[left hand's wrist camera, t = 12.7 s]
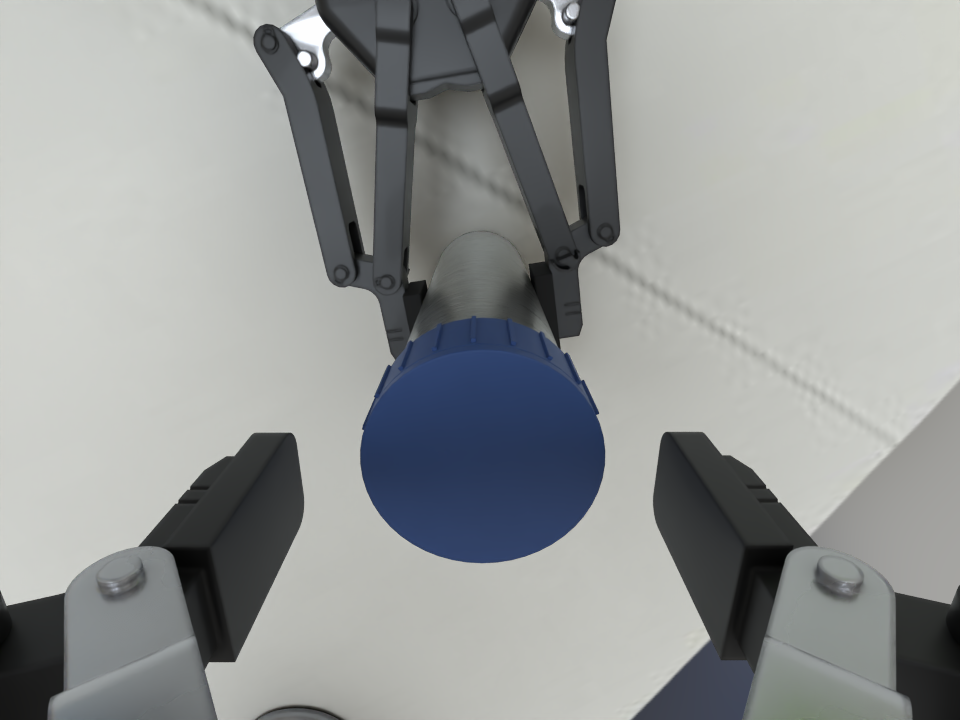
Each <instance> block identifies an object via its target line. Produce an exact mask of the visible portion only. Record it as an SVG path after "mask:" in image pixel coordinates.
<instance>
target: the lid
mask: <svg viewBox="0 0 960 720" xmlns="http://www.w3.org/2000/svg"><path fill="white" fill-rule="evenodd" d="M374 397H375V399H374V401H373V403H372V406H371V408H370V410H369V413H368V415H367V417H366V420H365V422H364V424H363V427H362V430H364V432H363V435H362V442H361V449H360V464H361V470H362V477H363V480H364V483H365V487H366V490H367V492H368V494H369V497H370V499H371V501H372V503H373V505H374V506H375V508H376V509H377V511H378V512H379V514H380V515H381V516H382V518H383V519H384V520H385V521H386V522H387V523H388V525H389V526H390V527H391V528H393V529H394V530H395V531H396V532H397V533H398V534H399V535H400V536H402V537H403V538H405V539H406V540H407V541H409V542H410V543H412V544H414V545H415V546H417V547H419V548H421V549H423V550H425V551H427V552H430V553H432V554H435V555H437V556H440V557H444V558H448V559H451V560H456V561H462V562H471V563H495V562H502V561H509V560H514V559H517V558H521V557H525V556H528V555H530V554H533V553H535V552H538V551H540V550H542V549H544V548H546V547H548V546H550V545H552V544H553V543H555V542H556V541H557V540H559V539H560V538H562V537H563V536H565V535H566V534H567V533H568V532H569V531H570V530H571V529H573V528H574V527H575V526H576V525H577V523H578V522H579V521H580V520H581V519H582V518H583V517H584V515H585V514H586V512H587V511H588V509H589V508H590V506H591V505H592V503H593V501H594V499H595V497H596V495H597V493H598V490H599V487H600V484H601V481H602V478H603V472H604V467H605V445H604V438H603V434H602V430H601V427H600V423H599V421H598V419H597V416H596V415H597V414H599V412H598V409H597V407H596V405H595V403H594V401H593V398H592V396H591V394H590V392H589V390H588V388H587V386H586V384H585V381H584V380H582V381H581V380H580V378H579V375H578V373H577V371H576V369H575V367H574V364H573V362H572V360H571V358H570V356H569V354H568V353H565V354H564V353H563V352H562V351H561V350H560V349H559V348H558V347H557V346H556V345H555V344H554V343H553V342H551V341H550V340H549V339H548V338H546V337H545V334H544V333H543V332H542V331H540V333H539V332H537V331H535V330H533V329H531V328H529V327H526V326H524V325H521V324H518V323H515V322H512V319H509V318H508V319H507V320H502V319H497V318H476V316H472V318H468V319H463V320H457V321H453V322H450V323H447V324H444V325H442V324H441V323H439V324H437V327H436V328H434V329H432V330H430V331H428V332H426V333H425V334H423V335H422V336H420V337H419V338H417V339H416V340H414V341H413V342H412V341H411V340H410V341H409V342H408V343H407V346H406V348H405V349H404V350H403V352H402V353H401V354H400V355H399V356H398V357H397V359H396V360H395V362H394V363H393V365H392V366H390V365H388V366H387V368H386V370H385V373H384V375H383V377H382V380H381V382H380V384H379V386H378V389H377V391H376V393H375V396H374Z"/></svg>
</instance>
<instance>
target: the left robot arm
mask: <svg viewBox="0 0 960 720" xmlns="http://www.w3.org/2000/svg"><path fill="white" fill-rule="evenodd" d="M653 508H654V516H655V520H656V524H657V526H658V528H659V531H660V533H661V535H662V537H663V539H664V541H665V543H666V545H667V547H668V550H669V552H670V554H671V556H672V558H673V560H674V562H675V564H676V566H677V569H678V571H679V573H680V575H681V577H682V579H683V581H684V583H685V585H686V588H687V590H688V592H689V594H690V596H691V598H692V600H693V602H694V604H695V607H696V609H697V611H698V613H699V615H700V617H701V619H702V621H703V623H704V626H705V628H706V630H707V632H708V634H709V636H710V638H711V640H712V642H713V644H714V647H715V649H716V651H717V653H718V655H719V657H720V659H721V660H747V661H748V663H749V665H750V667H751V669H752V671H753V673H754V678H753V682H752V685H751V689H750V693H749V697H748V700H747V704H746V708H745V712H744V716H743V719H742V720H960V585H959V587H958V589H957V591H956V594H955V597H954V599H953V601H952V604H951V605H950V604H945V603H941V602H936V601H932V600H927V599H922V598H918V597H913V596H909V595H904V594H900V593H895V592H894V590H893V588H892V586H891V585H890V584H889V582H888V581H887V580H886V579H885V578H884V577H883V576H882V575H881V574H880V573H879V572H878V571H877V570H875V569H874V568H873V567H871V566H870V565H868V564H867V563H865V562H863V561H861V560H860V559H858V558H855V557H853V556H851V555H849V554H846V553H844V552H841V551H837V550H834V549H830V548H825V547H818V546H817V544H816V543H815V542H814V541H813V540H812V539H811V537H810V536H809V535H808V534H807V533H806V532H805V530H804V529H803V528H802V527H801V526H800V525H799V523H798V522H797V521H796V520H795V519H794V518H793V516H792V515H791V514H790V513H789V512H788V511H787V509H786V508H785V507H784V506H783V505H782V504H781V503H778V499H777V498H776V497H775V495H774V494H773V493H772V492H771V491H770V490H769V489H766V485H765V484H764V483H763V481H762V480H761V479H760V478H759V477H758V476H757V474H756V473H755V472H754V471H753V470H752V469H751V468H749V467H748V466H746V465H744V464H743V463H741V462H740V461H738V460H736V459H735V458H733V457H732V456H722V455H721V453H720V452H719V451H718V450H717V448H716V447H715V446H714V445H713V443H712V442H711V441H710V440H709V438H708V437H707V436H706V435H705V434H704V433H703V432H665V433H664V434H663V436H662V439H661V443H660V450H659V458H658V465H657V472H656V480H655V487H654V495H653ZM303 512H304V494H303V486H302V479H301V472H300V465H299V457H298V450H297V443H296V439H295V437H294V435H293V434H292V433H254V434H252V435H251V437H250V438H249V439H248V440H247V442H246V443H245V444H244V445H243V446H242V448H241V449H240V450H239V451H238V453H237V454H236V455H235V456H226V457H225V458H223V459H222V460H220V461H218V462H217V463H215V464H214V465H212V466H211V467H209V468H207V469H206V470H204V471H203V473H202V474H201V475H200V476H199V477H198V478H197V479H196V481H195V482H194V483H193V484H192V485H191V486H190V490H187V491H186V492H185V493H184V494H183V496H182V497H181V498H180V499H179V502H178V504H175V505H174V506H173V507H172V508H171V510H170V511H169V512H168V513H167V514H166V515H165V516H164V518H163V519H162V520H161V521H160V522H159V523H158V525H157V526H156V527H155V528H154V529H153V530H152V531H151V533H150V534H149V535H148V536H147V537H146V538H145V540H144V541H143V542H142V543H141V544H140V545H139V546H138V547H135V548H130V549H126V550H123V551H119V552H116V553H114V554H111V555H109V556H107V557H105V558H102V559H100V560H99V561H97V562H95V563H93V564H92V565H90V566H89V567H87V568H86V569H85V570H83V571H82V572H81V573H80V574H79V575H78V576H77V577H76V578H75V579H74V580H73V581H72V582H71V584H70V585H69V586H68V588H67V590H66V593H63V594H59V595H55V596H50V597H45V598H41V599H36V600H32V601H27V602H23V603H18V604H14V605H9V606H6V604H5V601H4V599H3V596H2V594H1V591H0V720H218V719H217V716H216V712H215V708H214V704H213V700H212V697H211V693H210V689H209V685H208V682H207V678H206V674H205V668H206V666H207V664H208V662H235V661H236V659H237V657H238V655H239V653H240V651H241V649H242V646H243V644H244V642H245V640H246V638H247V636H248V634H249V632H250V630H251V628H252V626H253V624H254V621H255V619H256V617H257V615H258V613H259V611H260V609H261V607H262V605H263V603H264V601H265V599H266V596H267V594H268V592H269V590H270V588H271V586H272V584H273V582H274V580H275V578H276V576H277V574H278V571H279V569H280V567H281V565H282V563H283V561H284V559H285V557H286V555H287V553H288V551H289V549H290V546H291V544H292V542H293V540H294V538H295V536H296V534H297V532H298V530H299V528H300V525H301V522H302V518H303ZM257 720H339V719H337V718H335V717H333V716H331V715H329V714H326V713H323V712H320V711H316V710H311V709H303V708H289V709H282V710H277V711H273V712H270V713H268V714H266V715H264V716H262V717H260V718H258V719H257Z"/></svg>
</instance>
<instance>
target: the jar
mask: <svg viewBox="0 0 960 720" xmlns="http://www.w3.org/2000/svg"><path fill="white" fill-rule="evenodd" d="M472 316H476V318H497V319H502V320H507V319H508V318H509V319H512V322H515V323H518V324H521V325H524V326H526V327H529V328H531V329H533V330H535V331H537V332H539V333H540V331H542V332H543V333H544V334H545V337H546V338H548V339H549V340H550V341H551V342H553V343H554V344H555V345H556V346H557V344H556V341H555V339H554V336H553V334H552V332H551V329H550V327H549V324H548V322H547V319H546V317H545V315H544V312H543V310H542V307H541V305H540V302H539V300H538V298H537V295H536V293H535V290H534V288H533V285H532V283H531V281H530V278H529V276H528V273H527V271H526V268H525V266H524V264H523V261H522V259H521V257H520V254H519V253H518V251H517V250H516V248H515V247H514V246H513V245H512V244H511V243H510V242H509V241H508V240H506V239H505V238H504V237H502V236H500V235H498V234H495V233H492V232H487V231H475V232H470V233H467V234H464V235H462V236H460V237H458V238H456V239H455V240H453V241H452V242H451V243H450V244H449V245H448V246H447V247H446V249H445V250H444V252H443V253H442V255H441V257H440V259H439V262H438V265H437V267H436V270H435V272H434V275H433V278H432V280H431V283H430V285H429V288H428V291H427V293H426V296H425V298H424V301H423V304H422V306H421V309H420V311H419V314H418V316H417V319H416V322H415V324H414V327H413V329H412V332H411V335H410V337H409V340H408V342H409V341H410V340H411V341H412V342H413V341H414V340H416V339H417V338H419V337H420V336H422V335H423V334H425V333H426V332H428V331H430V330H432V329H434V328H436V327H437V324H439V323H441V324H442V325H444V324H447V323H450V322H453V321H457V320H463V319H468V318H472ZM408 342H407V343H408ZM406 346H407V345H406ZM557 347H558V346H557Z"/></svg>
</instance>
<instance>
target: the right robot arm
mask: <svg viewBox="0 0 960 720" xmlns="http://www.w3.org/2000/svg"><path fill="white" fill-rule="evenodd" d="M536 1H537V0H315V2H316V5H314V6H313V7H311V8H310V9H308V10H307V11H305V12H304V13H302V14H301V15H299V16H298V17H296V18H295V19H293V20H292V21H290V22H289V23H287V24H286V25H284V26H283V27H281V28H277V27H276V26H274V25H270V24H265V25H262V26H260V27H259V28H258V29H257V30H256V32H255V34H254V37H253V38H254V47H255V49H256V52H257V53H258V55H259V57H260V58H261V60H262V62H263V63H264V65H265V67H266V68H267V70H268V72H269V73H270V75H271V77H272V78H273V80H274V82H275V83H276V85H277V87H278V88H279V90H280V92H281V93H282V95H283V97H284V101H285V105H286V109H287V113H288V117H289V122H290V126H291V130H292V134H293V138H294V142H295V146H296V150H297V154H298V158H299V162H300V166H301V170H302V174H303V178H304V183H305V187H306V191H307V195H308V199H309V203H310V207H311V211H312V215H313V219H314V223H315V227H316V231H317V235H318V239H319V244H320V248H321V252H322V256H323V260H324V264H325V268H326V272H327V276H328V278H329V280H330V281H331V282H332V283H333V284H334V285H336V286H338V287H347V286H353V287H358V288H363V289H367V290H369V291H371V292H372V293H373V294H375V295H376V297H377V298H378V300H379V303H380V307H381V312H382V316H383V321H384V325H385V329H386V334H387V338H388V343H389V347H390V352H391V354H392V355H393V357H394V358H395V360H396V359H397V357H398V356H399V355H400V354H401V353H402V352H403V350H404V349H405V348H406V345H407V342H408V340H409V337H410V335H411V332H412V329H413V327H414V324H415V322H416V319H417V316H418V314H419V311H420V309H421V306H422V304H423V301H424V298H425V296H426V293H427V291H428V290H427V284H426V280H423V281H416V282H410V283H409V282H408V277H407V276H408V274H409V270H410V269H408V261H409V241H410V220H411V200H412V180H413V160H414V140H415V126H416V121H417V106H418V100H422V99H428V98H431V97H433V96H435V95H437V94H439V93H441V92H443V91H445V90H458V91H466V92H469V91H475V90H480V89H481V91H482V93H483V96H484V98H485V101H486V104H487V106H488V109H489V111H490V113H491V115H492V118H493V120H494V123H495V126H496V128H497V131H498V133H499V136H500V139H501V141H502V144H503V147H504V149H505V152H506V154H507V157H508V160H509V162H510V165H511V167H512V170H513V173H514V175H515V178H516V180H517V183H518V186H519V188H520V191H521V194H522V196H523V199H524V201H525V204H526V207H527V209H528V212H529V214H530V217H531V220H532V222H533V225H534V228H535V230H536V233H537V235H538V238H539V241H540V243H541V246H542V248H543V251H544V255H545V262H539V263H533V264H529V269H530V278H531V283H532V285H533V288H534V290H535V293H536V295H537V298H538V300H539V302H540V305H541V307H542V310H543V312H544V315H545V317H546V319H547V322H548V324H549V327H550V329H551V332H552V334H553V336H554V339H555V341H556V344H557V346H558V348H559V349H560V340H559V339H560V338H567V337H574V336H579V335H580V331H581V328H582V325H583V323H582V313H581V303H580V302H581V301H580V290H579V280H578V267H579V264H580V262H581V260H582V259H583V258H584V257H585V256H586V255H588V254H589V253H591V252H593V251H595V250H597V249H599V248H601V247H602V246H603V247H607V246H610V245H612V244H613V243H614V242H616V241H617V239H618V237H619V235H620V221H619V207H618V193H617V180H616V166H615V152H614V138H613V124H612V111H611V97H610V83H609V69H608V55H607V42H606V40H607V35H608V31H609V27H610V23H611V18H612V14H613V10H614V6H615V1H616V0H538V1H541V2H543V3H544V4H545V5H547V7H548V8H549V10H550V14H551V26H552V29H553V31H554V33H555V34H556V35H557V36H558V37H559V38H562V39H566V45H565V73H566V83H567V94H568V104H569V114H570V124H571V135H572V145H573V155H574V165H575V176H576V186H577V196H578V206H579V217H580V220H579V221H577V222H575V223H573V224H571V225H568V222H567V220H566V217H565V214H564V211H563V208H562V206H561V203H560V200H559V197H558V195H557V192H556V189H555V186H554V183H553V181H552V178H551V175H550V172H549V170H548V167H547V164H546V161H545V159H544V156H543V153H542V150H541V147H540V145H539V142H538V139H537V136H536V134H535V131H534V128H533V125H532V122H531V120H530V117H529V114H528V111H527V109H526V106H525V103H524V100H523V97H522V93H521V89H520V85H519V82H518V79H517V77H516V74H515V71H514V68H513V66H512V63H511V60H510V57H511V55H512V52H513V50H514V48H515V46H516V44H517V42H518V40H519V38H520V35H521V33H522V31H523V29H524V27H525V25H526V23H527V21H528V18H529V16H530V14H531V12H532V10H533V8H534V6H535V3H536ZM335 37H337V38H338V39H339V40H340V41H341V42H342V43H343V44H344V45H345V46H346V47H347V48H348V49H349V50H350V52H351V53H352V54H353V55H354V56H355V57H356V58H357V59H358V60H359V61H360V62H361V63H362V64H363V65H364V66H365V67H366V68H367V69H368V71H369V72H370V73H371V74H372V75H373V76H374V77H375V117H376V126H377V127H376V165H375V202H374V240H373V256H372V255H367V254H365V252H364V247H363V243H362V238H361V233H360V229H359V224H358V220H357V215H356V210H355V206H354V201H353V197H352V192H351V188H350V183H349V178H348V174H347V169H346V165H345V160H344V156H343V151H342V146H341V142H340V137H339V133H338V128H337V123H336V119H335V114H334V110H333V106H332V103H331V99H330V96H329V94H328V91H327V88H326V86H325V84H324V81H325V80H326V79H327V78H328V77H329V76H330V74H331V70H332V64H331V61H330V57H329V45H330V43H331V41H332V40H333V39H334V38H335ZM560 350H561V349H560Z"/></svg>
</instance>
